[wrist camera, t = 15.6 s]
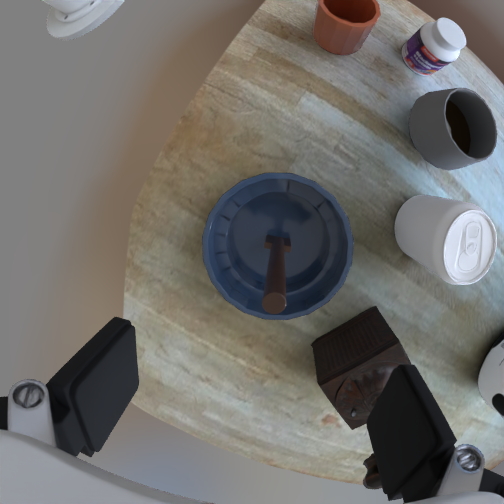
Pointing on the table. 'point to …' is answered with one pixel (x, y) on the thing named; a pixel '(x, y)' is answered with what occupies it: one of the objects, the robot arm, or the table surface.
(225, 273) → the bowl
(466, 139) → the cup
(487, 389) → the milk container
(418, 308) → the table surface
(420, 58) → the pill bottle
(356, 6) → the utensil pot
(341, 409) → the manual coffee grinder
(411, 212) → the beverage can
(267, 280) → the stirring stick
